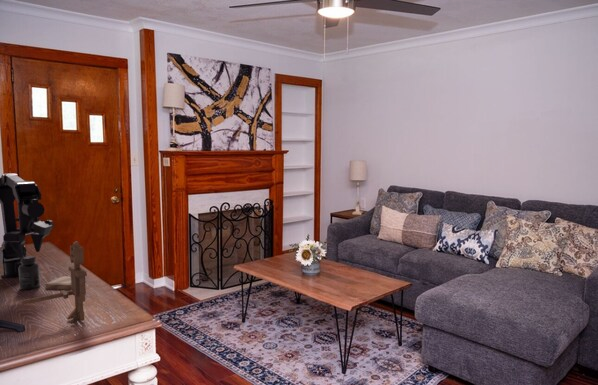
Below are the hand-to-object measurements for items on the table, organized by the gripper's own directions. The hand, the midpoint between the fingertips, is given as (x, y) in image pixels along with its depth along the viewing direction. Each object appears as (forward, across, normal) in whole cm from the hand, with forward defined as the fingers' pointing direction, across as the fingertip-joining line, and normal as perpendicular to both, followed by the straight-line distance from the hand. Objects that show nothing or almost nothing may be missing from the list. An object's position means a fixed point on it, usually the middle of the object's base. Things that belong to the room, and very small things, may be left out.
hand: (29, 254), depth 168 cm
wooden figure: (+13, -32, -34) cm, 48 cm away
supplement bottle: (+13, 0, 0) cm, 13 cm away
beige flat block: (+13, +4, -12) cm, 18 cm away
